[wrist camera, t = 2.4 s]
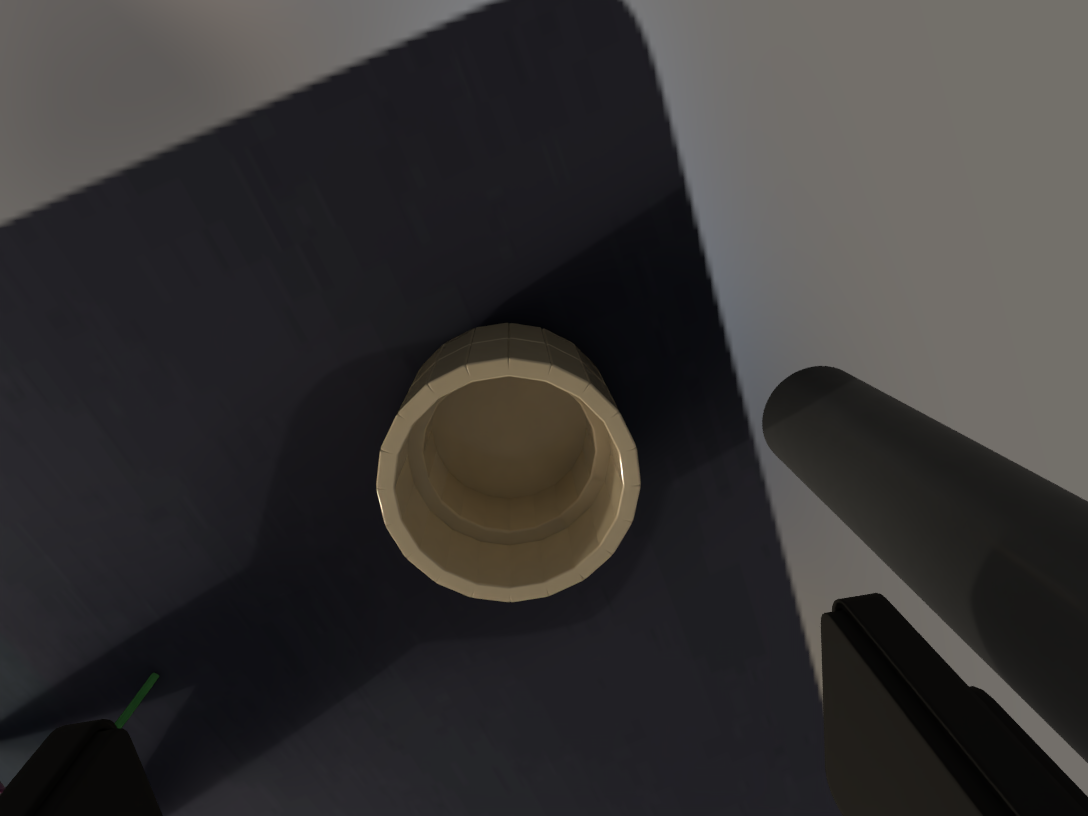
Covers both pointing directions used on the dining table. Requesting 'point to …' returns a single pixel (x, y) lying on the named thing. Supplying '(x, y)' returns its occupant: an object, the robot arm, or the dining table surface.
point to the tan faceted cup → (508, 466)
